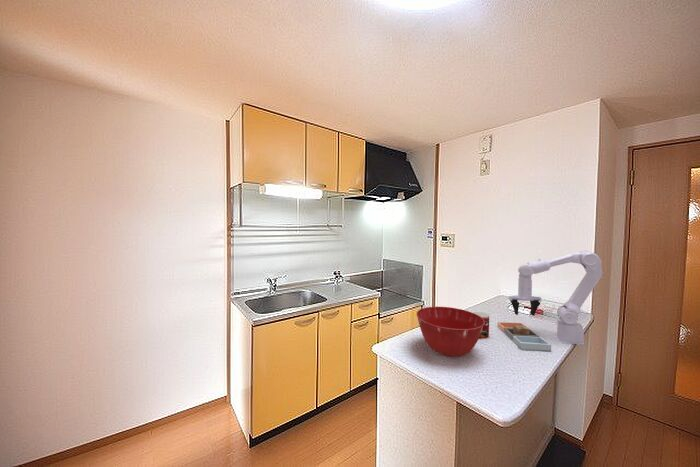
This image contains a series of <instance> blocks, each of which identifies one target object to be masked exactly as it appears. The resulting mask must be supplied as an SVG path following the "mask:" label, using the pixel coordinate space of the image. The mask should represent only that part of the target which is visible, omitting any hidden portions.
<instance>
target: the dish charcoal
mask: <svg viewBox="0 0 700 467" xmlns="http://www.w3.org/2000/svg"><path fill="white" fill-rule="evenodd" d="M504 334H505V336H507V337H508V339H510V340H511V341H513V336H529V337H541V336H540V335H539V334H537V333H536V332H535V331H534V330H532V329H530V330H529V335H513V329H508V328H505V333H504Z"/></svg>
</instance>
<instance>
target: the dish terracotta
mask: <svg viewBox="0 0 700 467" xmlns="http://www.w3.org/2000/svg"><path fill="white" fill-rule="evenodd" d="M513 325H524V326H526V325H525V323H523V322H508V321H507V322H506V321H497V327H498V329H500V331H501V332H502V333H504V334H505V328H508V329H513ZM526 327H527V328H529V327H528V326H526Z"/></svg>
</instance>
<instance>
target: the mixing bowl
mask: <svg viewBox="0 0 700 467" xmlns="http://www.w3.org/2000/svg"><path fill="white" fill-rule="evenodd" d="M416 317H417V320H418V324H419V329H420V331H421V334H422V336H423V339H424V340H425V342H426V343H425V344H426V345H427V346H428V347H429V348H430V349H431V350H432V351H434V353H436V354H439V355H440V356H444V357H449V358H460V357H464V356H465V355H468V354H469V353H470V352H472V351H473V349H474V348H475V346H476V345H477V343H478V341H479V337H480V334H481V331H482V329H483V326H484V324H485V321H484V319H483V318H482V317H480V316H479V315H477V314H475V313H474V312H471V311H469V310H465V309H462V308H456V307H452V306H451V307H449V306H429V307H428V306H426V307H423V308H420V309H418V310H417V311H416Z"/></svg>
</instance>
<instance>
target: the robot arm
mask: <svg viewBox="0 0 700 467" xmlns="http://www.w3.org/2000/svg"><path fill="white" fill-rule="evenodd" d="M602 262H603V261H602V259H601V258H600V256H599V255H598V254H597V253H595V252H590V251H588V250H581V251H576V252H571V253H568V254H566V255H561V256H559V257H556V258H553V259H550V260H548V259H547V260H546V259H545V258H543V259H541V258H538V259H537V260H536V261H533V262H527V264H526V263H525V264H524V263H523V264H521V265H519V267H518V268H517V271H518V273H519V274H518V286H517V287H518V289H517V292H518V294H517V295H508V300H509V302H510V303H511V305H512V308H513V312H514V314H515V315H516V316H518V315H519V307H520V302H519V301H521V302H522V301H524V302H525V301H526V302H529V304H530V315H532V316H534V317H535V315H536V312H537V309H538V308H539V307H540V305H541V302H542V297H541V296H533V295H532V292H533V290H532V288H533V279H532V276H533V274H534V275H537V274H540V273H545V272H547V271H550V269H551V268H552V267H557V266H560V265H561V266H562V265H565V264H569V263H573V264H577V265H581V266H582V267H583V269H584V271H585V275H584V276H583V278H582V279H581V280H580V282H579V284H577V287H576V288H575V289H574V291H573V293H572V295H571V296H570V297H569V299H568V300H567V301H566V302H564V304H562V305H561V306H559V307H557V311H556V313H557V315H558V319H557V321H556V322H557V323H556V325H557V327H556V330H557V331H556V332H557V333H556V335H552V337H554V338H555V339H556V340H558V341H559V342H560V343H562V344H572V345H586V344H585V342H584V340H585V338H584V337H585V336H584V335H585V330H584V329H585V328H584V327H583V324H581V323H580V322H578V320H579V314H581V307H583V304H584V303H585V302H586V300H587V299H588V297H589V296H590V294H591V293H592V291H593V290H594V288H595V287H596V285H597V284H598V282H599V281H600V279H601V278H602V277H603V267H602Z"/></svg>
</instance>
